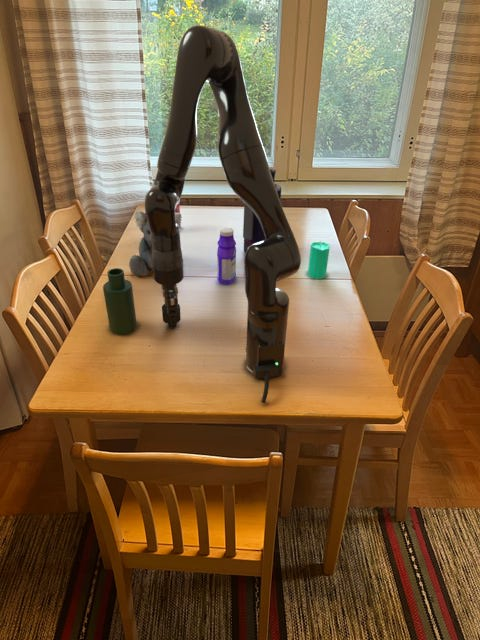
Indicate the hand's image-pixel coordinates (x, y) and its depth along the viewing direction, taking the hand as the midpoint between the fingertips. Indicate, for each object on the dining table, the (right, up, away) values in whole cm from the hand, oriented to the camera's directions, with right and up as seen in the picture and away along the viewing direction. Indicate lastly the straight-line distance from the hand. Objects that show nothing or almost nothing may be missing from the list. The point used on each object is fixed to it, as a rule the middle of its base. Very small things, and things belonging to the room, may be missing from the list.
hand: (171, 318), depth 128 cm
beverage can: (-8, +35, +56) cm, 67 cm away
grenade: (+25, +23, +39) cm, 52 cm away
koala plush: (-8, +17, +30) cm, 36 cm away
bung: (0, -2, +1) cm, 2 cm away
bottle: (+14, +12, +23) cm, 30 cm away
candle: (+44, +14, +28) cm, 54 cm away
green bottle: (-13, -2, 0) cm, 13 cm away
